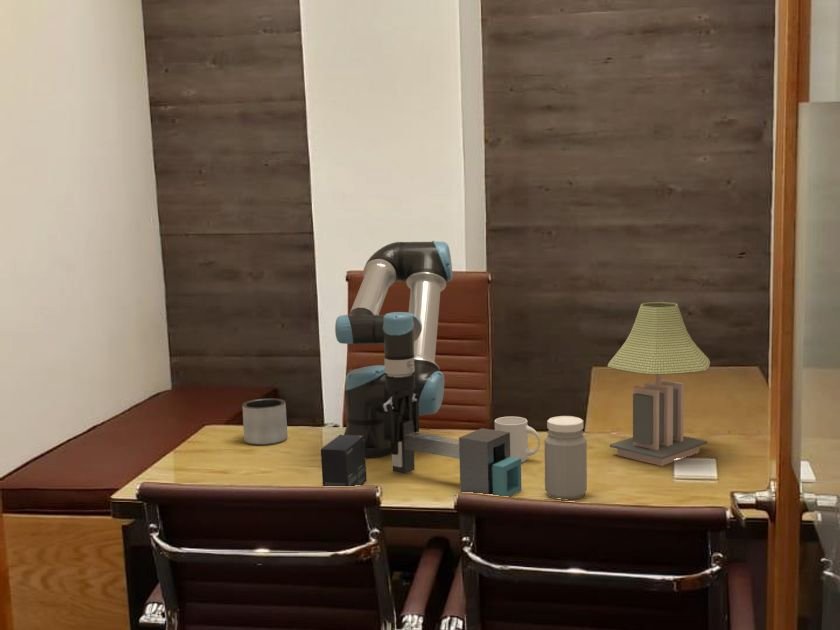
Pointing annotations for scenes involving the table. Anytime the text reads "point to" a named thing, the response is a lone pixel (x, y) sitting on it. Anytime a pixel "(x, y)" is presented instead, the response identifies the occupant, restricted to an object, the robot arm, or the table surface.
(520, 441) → the mug
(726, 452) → the table surface
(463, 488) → the block
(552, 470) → the jar
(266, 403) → the planter
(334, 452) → the small box
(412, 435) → the shaft
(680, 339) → the desk lamp
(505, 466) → the collar
